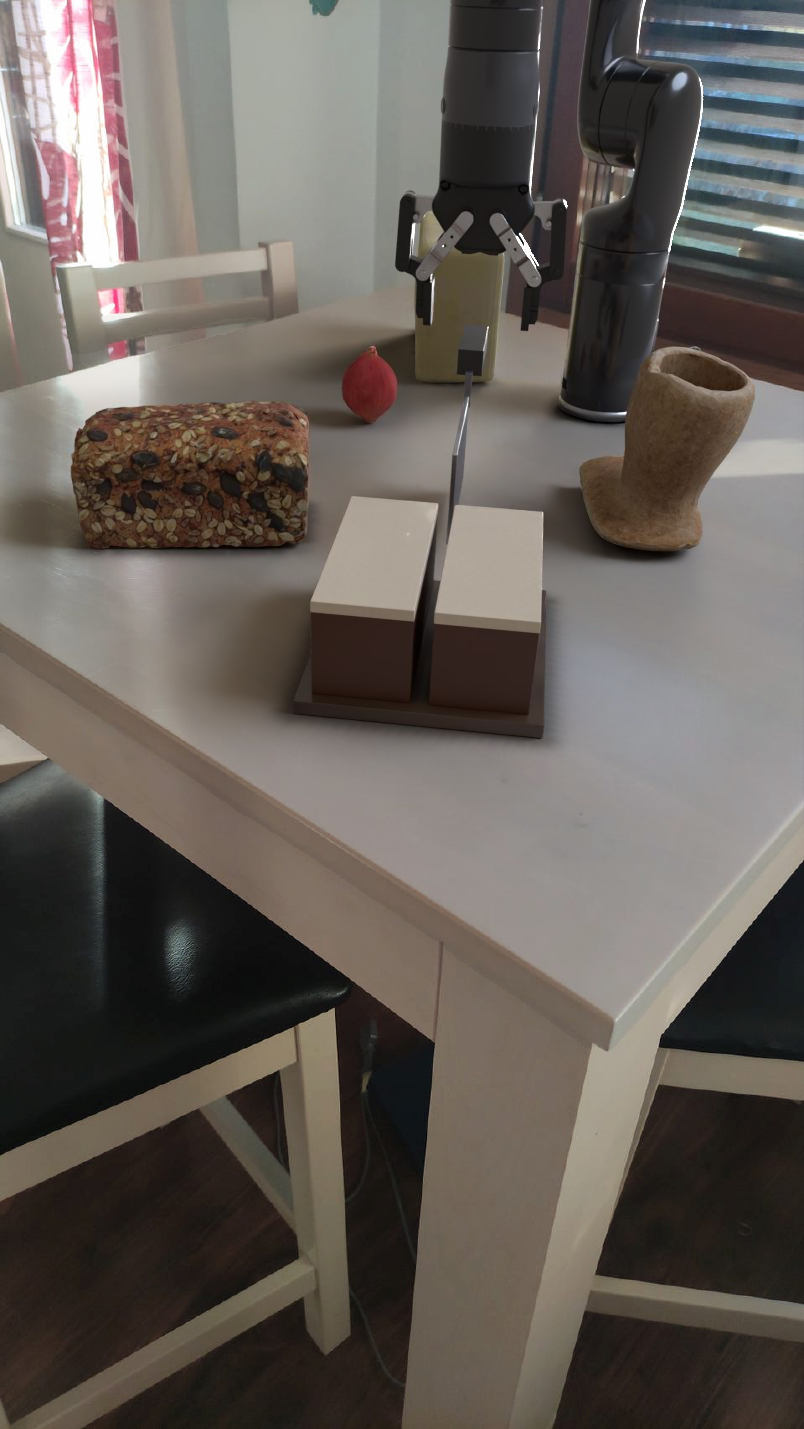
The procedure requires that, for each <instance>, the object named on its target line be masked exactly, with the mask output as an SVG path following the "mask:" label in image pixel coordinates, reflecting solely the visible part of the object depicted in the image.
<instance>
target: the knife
mask: <svg viewBox="0 0 804 1429" xmlns="http://www.w3.org/2000/svg"><path fill="white" fill-rule="evenodd" d="M487 337H488V326H477V325H465V326H464V330H463V334H462V337H461V341H460V345H459V349H458V362H457V375H465V382H464V387H463V401H462V406H461V407H462V408H461V413H460V418H459V421H458V426H457V431H456V436H455V439H454V443H453V444H454V445H453V450H452V454H451V466H450V467H451V469H450V480H449V496H448V497H449V498H448V512H447V523H446V524H447V526H446V527H447V528H446V541H445V545H447V544H448V539H449V534H450V528H451V523H452V518H453V513H454V507H455V505H460V504H459V503H460V499H461V498H460V497H461V493H462V487H463V482H464V473H465V462H466V461H465V460H466V459H465V458H466V447H467V446H466V445H467V434H468V433H467V432H468V419H469V408H470V407H471V400H472V388H473V382H472V376H482V371H483V366H484V361H485V355H486V350H487Z"/></svg>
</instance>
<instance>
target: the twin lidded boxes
mask: <svg viewBox="0 0 804 1429" xmlns="http://www.w3.org/2000/svg"><path fill="white" fill-rule="evenodd" d="M438 516H439V502H438V503H437V502H429V501H427V502H425V501H415V500H404V499H403V500H402V499H390V498H380V497H379V498H378V497H369V496H368V497H366V496H354V495H351V497H350V499H349V502H348V504H347V507H346V509H345V512H344V514H343V516H342V519H341V522H340V525H339V527H338V529H337V532H336V535H335V537H334V539H333V542H332V545H331V548H330V550H329V553H328V555H327V557H326V561H325V563H324V565H323V568H322V570H321V572H320V575H319V578H318V580H317V583H316V585H315V588H314V591H313V593H312V596H311V598H310V602H309V605H310V606H309V610H310V613H309V614H310V654H309V657H308V659H307V662H306V664H305V668H304V670H303V673H302V676H301V678H300V681H299V684H298V686H297V689H296V692H295V695H294V698H293V701H292V705H293V706H292V708H293V711H292V712H293V714H296V715H307V716H316V717H327V718H335V719H336V718H337V719H347V720H356V721H368V722H376V723H377V722H378V723H385V724H388V723H389V724H397V725H407V726H415V727H416V726H417V727H428V728H436V729H446V730H447V729H448V730H457V731H467V732H476V733H486V734H497V735H506V736H516V737H526V738H537V739H543V738H544V732H545V720H546V719H545V718H546V716H545V714H546V712H545V711H546V709H545V708H546V646H547V644H546V641H547V640H546V639H547V637H546V636H547V590H546V589H543V553H544V552H543V551H544V550H543V546H544V544H543V543H544V512H543V511H537V510H536V511H535V510H526V509H525V510H522V509H511V508H501V507H500V508H499V507H488V506H477V505H476V506H475V505H466V504H465V505H464V504H458V505H455V507H454V513H453V518H452V523H451V528H450V534H449V539H448V544H446V550H445V554H444V561H443V566H442V572H441V576H440V580H437V579H435V566H436V552H437V551H436V549H437V548H436V547H437V535H438V534H437V533H438V518H439V517H438Z"/></svg>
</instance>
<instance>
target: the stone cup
mask: <svg viewBox="0 0 804 1429" xmlns="http://www.w3.org/2000/svg"><path fill="white" fill-rule="evenodd" d="M690 348H691V347H684V346H683V347H682V346H667V347H662V348H659V349H657V350H654V352H653V353H651V354H650V355H649V356H648V357H647V358H646V359H645V360H644V362H643V363H642V364H641V366H640V368H639V371H638V374H637V377H636V381H635V384H634V387H633V390H632V394H631V397H630V401H629V404H628V408H627V412H626V419H625V421H624V452H623V455H605V456H599V457H594V458H590V459H588V460H585V461H583V462H582V463H581V465H580V466H579V469H578V473H579V483H580V488H581V491H582V492H581V493H582V495H583V496H582V497H583V503H584V507H585V509H586V513H587V516H588V518H589V521H590V523H591V526H592V527H593V528H592V529H594V530H595V532H596V534H598V535H599V537H600V538H602V539H603V540H605V541H606V542H609V543H611V544H614V545H615V546H621V547H624V548H629V549H634V550H640V551H648V552H649V551H651V552H678V551H682V550H691V549H693V548H696V547H697V546H698V545H700V542H701V541H702V537H703V520H702V515H701V512H700V509H699V507H698V503H699V500H700V496H701V495H702V493H703V491H704V489H705V488H706V487H707V484H708V482H709V481H710V479H711V478H712V477H713V475H714V474H715V472H716V471H717V469H718V468H719V467H720V466H721V464H722V463H723V462H724V460H725V459H726V458H727V456H728V455H729V453H731V451H732V450H733V448H734V446H735V445H736V444H737V442H738V440H739V439H740V438H741V436H742V434H743V432H744V430H745V427H746V425H747V423H748V421H749V418H750V416H751V413H752V410H753V406H754V403H755V400H756V399H755V398H756V389H755V388H756V387H755V384H754V382H753V381H752V380H751V378H750V376H749V375H747V374H746V373H745V372H744V371H743V370H742V369H740V368H739V367H738V366H736V365H735V364H732V363H730V362H729V361H725V360H722V359H721V358H719V357H718V356H716V355H713V354H710V353H707V352H705V351H702V350H701V351H702V352H701V351H698V350H694V349H690Z"/></svg>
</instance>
